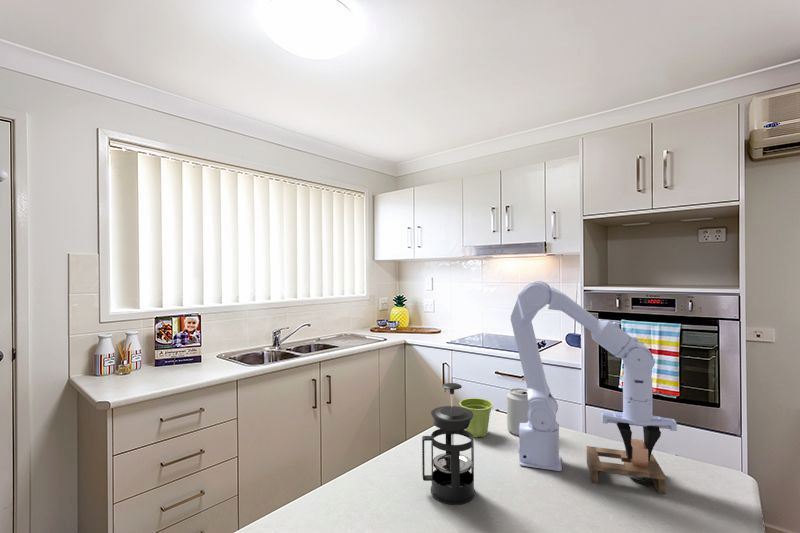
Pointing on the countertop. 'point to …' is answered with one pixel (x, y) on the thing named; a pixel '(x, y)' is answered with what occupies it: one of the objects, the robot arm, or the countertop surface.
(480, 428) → the plant pot
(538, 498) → the countertop surface
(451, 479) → the french press
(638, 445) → the peg
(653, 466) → the keyhole plate
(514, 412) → the can
